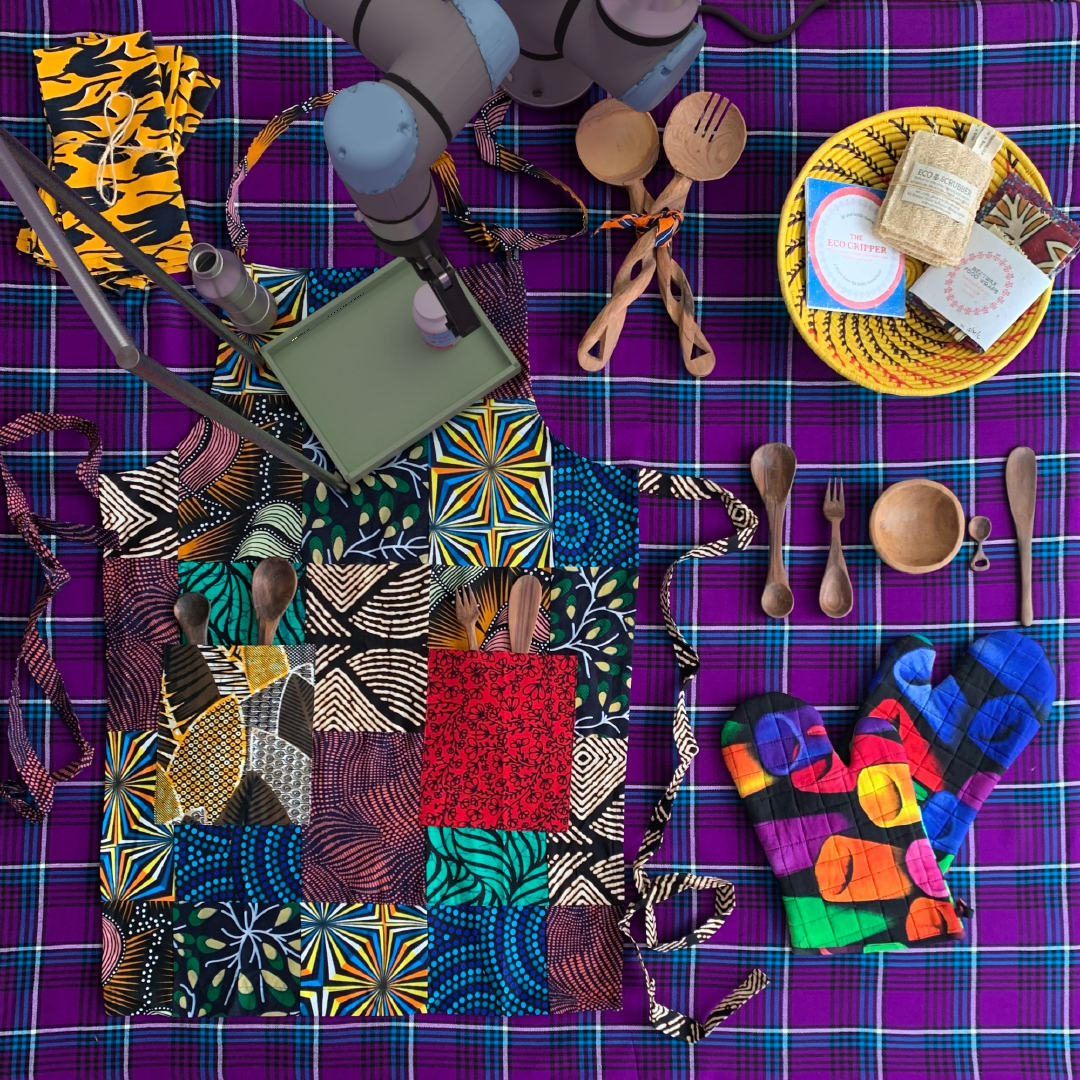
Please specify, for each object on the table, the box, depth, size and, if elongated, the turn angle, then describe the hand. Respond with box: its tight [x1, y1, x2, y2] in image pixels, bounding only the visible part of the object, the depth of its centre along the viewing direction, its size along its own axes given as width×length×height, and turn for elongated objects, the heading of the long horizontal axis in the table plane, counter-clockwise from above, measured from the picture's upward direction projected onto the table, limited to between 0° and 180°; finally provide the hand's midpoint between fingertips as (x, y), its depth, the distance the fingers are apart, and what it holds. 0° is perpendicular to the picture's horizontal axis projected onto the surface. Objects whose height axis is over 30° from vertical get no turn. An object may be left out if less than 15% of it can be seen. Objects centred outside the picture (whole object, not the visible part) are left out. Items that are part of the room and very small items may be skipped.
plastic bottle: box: [186, 242, 279, 335], centre depth 115 cm, size 6×7×20 cm
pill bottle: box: [412, 284, 462, 350], centre depth 118 cm, size 6×6×11 cm
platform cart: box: [0, 124, 522, 495], centre depth 93 cm, size 30×22×62 cm
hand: (431, 283), depth 109 cm, fingers open, 13 cm apart
